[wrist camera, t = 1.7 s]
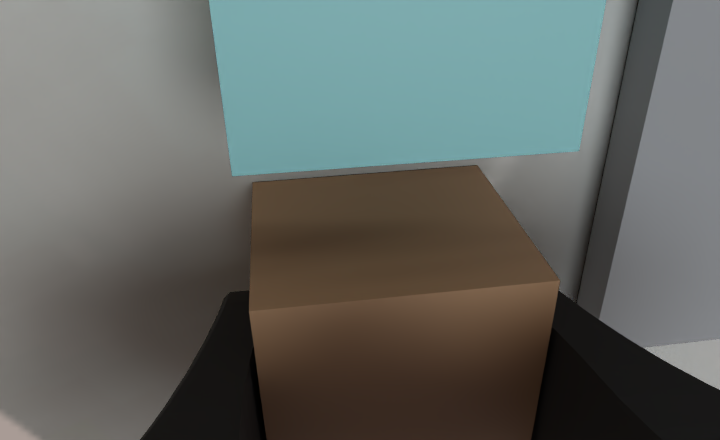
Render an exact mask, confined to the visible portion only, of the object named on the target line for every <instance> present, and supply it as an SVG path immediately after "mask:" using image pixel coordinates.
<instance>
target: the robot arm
mask: <svg viewBox="0 0 720 440" xmlns="http://www.w3.org/2000/svg"><path fill="white" fill-rule="evenodd" d="M249 292H250V291H239V292H230V293H229V294H228V295H227V296H226V297H225V298H224V300H223V303H222V305H221V308H220V310H219V313H218V315H217V317H216V319H215V321H214V323H213V326H212V328H211V330H210V332H209V334H208V336H207V337H206V339H205V341H204V343H203V345H202V347H201V349H200V350H199V352H198V354H197V356H196V357H195V359H194V361H193V363H192V364H191V366H190V368H189V370H188V371H187V373H186V375H185V376H184V378H183V379H182V381H181V382H180V384H179V385H178V387H177V388H176V390H175V392H174V393H173V395H172V396H171V398H170V399H169V401H168V402H167V404H166V405H165V407H164V408H163V410H162V411H161V412H160V414H159V415H158V417H157V418H156V419H155V421H154V422H153V423H152V425H151V426H150V427H149V429H148V430H147V431H146V433H145V434H144V435H143V437H142V438H141V439H140V440H267V439H266V432H265V425H264V417H263V410H262V403H261V396H260V388H259V381H258V374H257V366H256V359H255V352H254V345H253V337H252V330H251V323H250V315H249ZM531 440H720V390H719V389H717V388H715V387H712V386H710V385H708V384H706V383H704V382H703V381H701V380H699V379H697V378H695V377H693V376H691V375H689V374H688V373H686V372H684V371H682V370H680V369H678V368H676V367H674V366H673V365H671V364H669V363H667V362H665V361H664V360H662V359H660V358H659V357H657V356H655V355H653V354H652V353H650V352H648V351H647V350H645V349H644V348H642V347H640V346H639V345H637V344H636V343H634V342H632V341H631V340H629V339H628V338H626V337H624V336H623V335H621V334H620V333H618V332H617V331H615V330H614V329H612V328H611V327H609V326H608V325H606V324H605V323H603V322H602V321H600V320H599V319H597V318H596V317H595V316H593V315H592V314H590V313H589V312H587V311H586V310H585V309H583V308H582V307H580V306H579V305H578V304H576V303H575V302H573V301H572V300H571V299H569V298H568V297H566V296H565V295H564V294H562V293H561V292H560V291H558V295H557V301H556V306H555V312H554V317H553V323H552V328H551V333H550V339H549V344H548V350H547V355H546V361H545V366H544V372H543V377H542V383H541V388H540V393H539V399H538V404H537V410H536V415H535V421H534V426H533V432H532V437H531Z"/></svg>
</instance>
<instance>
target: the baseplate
mask: <svg viewBox="0 0 720 440" xmlns="http://www.w3.org/2000/svg"><path fill="white" fill-rule="evenodd" d="M577 304H578V305H579V306H580V307H582V308H583V309H585V310H586V311H587V312H589V313H590V314H592V315H593V316H595V317H596V318H597V319H599V320H600V321H602V322H603V323H605V324H606V325H608V326H609V327H611V328H612V329H614V330H615V331H617V332H618V333H620V334H621V335H623V336H624V337H626V338H628V339H629V340H631V341H632V342H634V343H636V344H637V345H639V346H640V347H642V348H643V347H652V346H661V345H669V344H678V343H687V342H696V341H705V340H713V339H720V0H639V2H638V7H637V12H636V17H635V22H634V27H633V32H632V36H631V41H630V46H629V51H628V56H627V61H626V66H625V71H624V75H623V80H622V85H621V90H620V95H619V100H618V105H617V110H616V114H615V119H614V124H613V129H612V134H611V139H610V144H609V149H608V153H607V158H606V163H605V168H604V173H603V178H602V183H601V188H600V192H599V197H598V202H597V207H596V212H595V217H594V222H593V227H592V231H591V236H590V241H589V246H588V251H587V256H586V261H585V266H584V271H583V275H582V280H581V285H580V290H579V295H578V300H577Z"/></svg>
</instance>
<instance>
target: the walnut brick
mask: <svg viewBox="0 0 720 440" xmlns="http://www.w3.org/2000/svg"><path fill="white" fill-rule="evenodd" d="M559 284H560V280H559V278H558V277H557V275H556V274H555V273H554V271H553V270H552V268H551V267H550V266H549V264H548V263H547V262H546V260H545V259H544V257H543V256H542V255H541V253H540V252H539V250H538V249H537V248H536V246H535V245H534V243H533V242H532V241H531V239H530V238H529V236H528V235H527V234H526V232H525V231H524V230H523V228H522V227H521V225H520V224H519V223H518V221H517V220H516V218H515V217H514V216H513V214H512V213H511V211H510V210H509V209H508V207H507V206H506V205H505V203H504V202H503V200H502V199H501V198H500V196H499V195H498V193H497V192H496V191H495V189H494V188H493V186H492V185H491V184H490V182H489V181H488V179H487V178H486V177H485V175H484V174H483V173H482V171H481V170H480V168H479V167H478V166H477V165H475V166H462V167H449V168H436V169H423V170H410V171H396V172H383V173H370V174H357V175H344V176H331V177H317V178H304V179H291V180H278V181H265V182H253V188H252V223H251V258H250V292H249V315H250V323H251V330H252V337H253V345H254V352H255V359H256V366H257V374H258V381H259V388H260V396H261V403H262V410H263V417H264V425H265V432H266V439H267V440H531V437H532V432H533V426H534V421H535V415H536V410H537V404H538V399H539V393H540V388H541V383H542V377H543V372H544V366H545V361H546V355H547V350H548V344H549V339H550V333H551V328H552V323H553V317H554V312H555V306H556V301H557V295H558V290H559Z"/></svg>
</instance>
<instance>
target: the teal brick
mask: <svg viewBox="0 0 720 440" xmlns="http://www.w3.org/2000/svg"><path fill="white" fill-rule="evenodd" d="M605 4H606V0H209V6H210V13H211V21H212V28H213V36H214V43H215V51H216V59H217V66H218V74H219V81H220V89H221V96H222V104H223V112H224V119H225V127H226V134H227V142H228V149H229V157H230V165H231V172H232V176H243V175H257V174H271V173H285V172H299V171H312V170H326V169H340V168H354V167H368V166H381V165H395V164H409V163H423V162H437V161H450V160H464V159H478V158H492V157H506V156H519V155H533V154H547V153H561V152H574V151H579V148H580V143H581V137H582V132H583V126H584V121H585V115H586V110H587V104H588V99H589V93H590V88H591V82H592V76H593V71H594V65H595V60H596V54H597V49H598V43H599V38H600V32H601V27H602V21H603V15H604V10H605Z"/></svg>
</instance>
